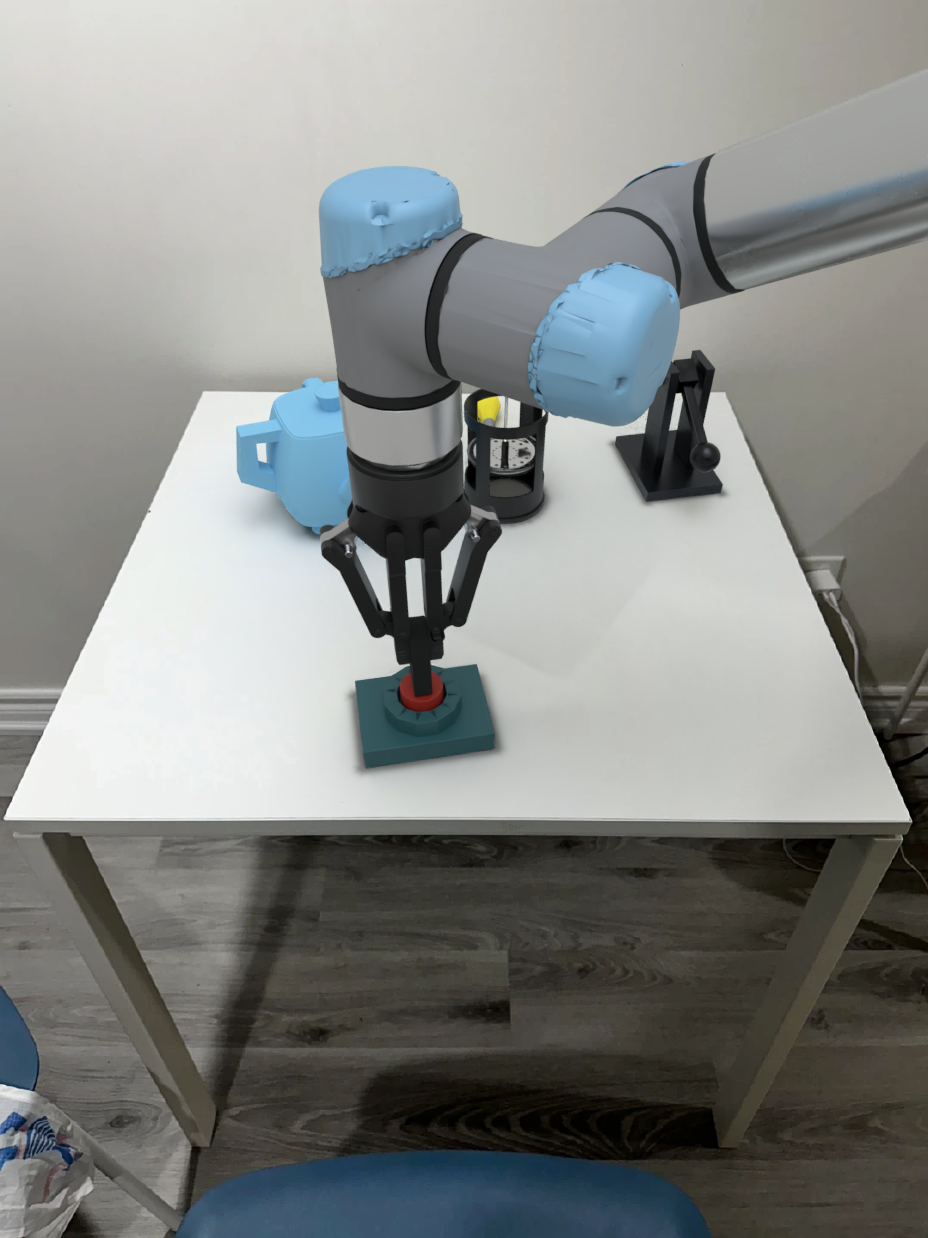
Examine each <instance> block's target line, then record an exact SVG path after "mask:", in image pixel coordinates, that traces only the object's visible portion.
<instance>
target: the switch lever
mask: <svg viewBox="0 0 928 1238" xmlns="http://www.w3.org/2000/svg"><path fill="white" fill-rule="evenodd" d="M672 362H673V364H674V365H675V366H676V368H677V369H678V370H679V372H680V374H679V380H678V385H677V390H676V395H677V394H680V395H681V398H682V401H683V402H684V406H685V410H686V414H687V417H688V421H689V425H690V429H691V433H692V436H693V440H694V444H695V447H694V448H693V449H692V451H691V453H690V457H689V459H690V464H691V466H692V467H693V468H694V469H695V470H696V471H698V472H702V473H707V472H710V471H712V470H714V471H715V469H717V467H718V466H719V464H720V462H721V457H722V455H721V452H720V451H721V450H720V449H719V447H718V446H717V445H715V444H714V443H712V442H709V441H708V438H707V434H706V430H705V427H704V424H703V423H702V419H701V415H700V411H699V408H698V404H697V400H696V397H695V393H694V388H695V386H696V385H697V383H698V381H699V377H698V374H697V370H696V366H695V363H694V359H693V358H691V357H690V358H681V359H673V361H672Z"/></svg>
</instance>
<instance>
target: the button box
mask: <svg viewBox="0 0 928 1238" xmlns="http://www.w3.org/2000/svg"><path fill="white" fill-rule="evenodd" d="M431 671H432V672H434V673H436V674H437V675H438V676H439V677H440V678H441V680H442V683H443V703H442V704H441V705H440V706H438V707H437V708H435V709H433V710H431V711H424V712H416V711H412V710H409V709H406V708H405V707H404V706H403V705H402V703H401V694H400V683H401V681H402V679H403V678H404V677H405V676H406V675H407V674H408V673H410V665H406V666H405V667H403V668H402V669H400V670H398V671H396V672H395V673H393V674H391V675H386V676H380V677H379V676H378V677H371V678H363V679H355V681H354V684H355V686H354V687H355V696H356V702H357V703H356V704H357V712H358V713H357V714H358V721H359V729H360V738H361V739H360V740H361V747H362V756H363V762H364V768H365V769H370V768H371V769H372V768H377V767H383V766H390V765H398V764H404V763H410V762H418V761H423V760H429V759H430V760H431V759H436V758H437V759H439V758H444V757H451V756H456V755H457V756H458V755H464V754H470V753H471V754H472V753H477V752H478V753H479V752H483V751H484V752H485V751H491V750H495V740H496V739H495V738H496V737H495V736H496V734H495V729H494V725H493V720H492V717H491V713H490V708H489V705H488V701H487V698H486V693H485V690H484V686H483V682H482V678H481V674H480V670H479V666H478V664H477V663H473V664H467V665H459V666H458V665H457V666H450V667H441V666H438V665H434V664H431Z"/></svg>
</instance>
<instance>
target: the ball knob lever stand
mask: <svg viewBox="0 0 928 1238" xmlns="http://www.w3.org/2000/svg"><path fill="white" fill-rule="evenodd" d="M690 358H693V359H694V363H695V366H696V370H697V374H698V377H699V381H698V383H697V385H696V386H695V388H694V393H695V397H696V400H697V404H698V408H699V411H700V415H701V419H702V423H703V425H704V424H705V419H706V415H707V409H708V404H709V400H710V396H711V391H712V387H713V381H714V377H715V373H716V367H715V366H714V365H713V363H712V362H711V361H710V360H709V359H708V357H707V356H706V355H705V353H704V352H703V351H702V350H701V349H695V350H693V349H692V350H691V353H690ZM673 362H674V361H672V360H671V363H670V366H669V369H668V372H667V374H666V377H665V379H664V381H663V384H662V385H661V386H660V387H659V388H658V389H657V392H656V395H655V397H654V400H653V402H652V404H651V405H650V407H649V408H648V409H647V416H646V422H645V428H644V432H643V433H634V434H624V435H616V436H615V441H614V442H615V443H614V445H615V447H616V448H617V450H618V452H619V454H620V456H621V459H622V460H623V461H624V463H625V465H626V467H627V469H628V470H629V472H630V474H631V476H632V477H633V480H634V481H635V483H636V485H637V487H638V489H639V490H640V492H641V494H642V496H643V498H644V499H645V501H646V502H652V501H653V502H654V501H661V500H669V499H678V498H679V499H680V498H688V497H695V496H704V495H711V494H721V493H722V491H723V486H724V483H723V482H722V480H721V479H720V477H719V476H718V474H717V473H716V472H715V469H714V470H712V471H710V472H707V473H702V472H698V471H696V470H695V469H694V468H693V467H692V466H691V464H690V459H689V457H690V453H691V451H692V449H693V448H694V447H695V444H694V440H693V436H692V433H691V429H690V425H689V421H688V417H687V414H686V410H685V406H684V402H683V400H682V402H681V407H680V413H679V416H678V417H679V418H678V423H677V428H676V429H670V428H671V422H672V417H673V411H674V406H675V400H676V395H677V394H676V390H677V385H678V380H679V374H680V372H679V370H678V369H677V368H676V366H675V365H674V364H673Z"/></svg>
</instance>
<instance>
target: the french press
mask: <svg viewBox="0 0 928 1238" xmlns="http://www.w3.org/2000/svg"><path fill="white" fill-rule="evenodd" d="M496 396H497V397H502V396H501V395H498V394H496V393H493V392H490V391H487V390H484V389H481V388H478V389H477V390H475V391H473V392H471V393H470V394H469V395H468V396H467V397H466V399H465V400H464V403H463V419H464V421H463V422H465V425H466V426H467V427H466V428H467V446H466V447H467V448H466V455H467V466H466V467H465V470H464V473H463V476H464V492H465V493H466V494H467V496H468V498H469V503H470V505H473V506H475V507H477V508H480V509H481V508H482V507H484V506H492V507H494V509H495V511H496V514H497V517H498V520H499V523H500V524H514V523H519V522H523V521H526V520H529V519H530V518H533V517H534V516H536V515H537V514H538V513H540V511H541V510H542V509H543V506H544V504H545V500H546V499H545V498H546V495H545V490H544V486H545V472H544V461H545V446H546V445H545V444H546V431H547V430H546V429H547V424H548V422H549V414H550V412H546V411H545V410H543V409H540V408H537V407H534V406H531V405H528V404H525V403H522V402H519V422H518V426H516V427H508V424H509V423H508V421H509V419H508V417H509V398H507V397H504V418H503V420H504V421H503V423H504V424H503V427H499V426H495V427H493V426H489V425H485V424H482V422H480V421H478V420H479V417H478V401H481V400H483V399H486V398H490V397H496ZM543 411H544V412H543ZM543 413H544V414H543ZM496 480H512V481H516V482H519V483H522V484H524V485H525V486H526V487H527V488H529V489H530V491H529V492H527V493H523V494H520V495H515V496H496V495H491V481H496Z"/></svg>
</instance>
